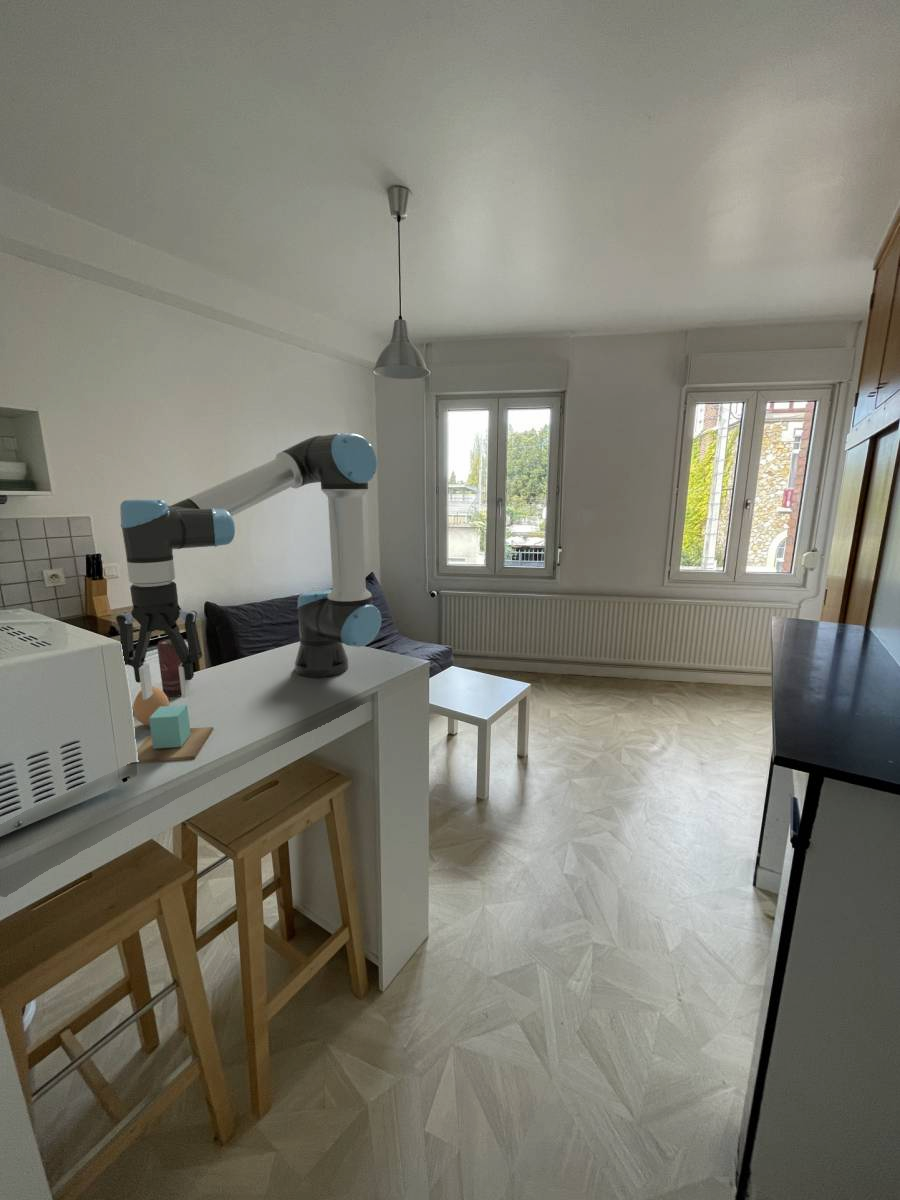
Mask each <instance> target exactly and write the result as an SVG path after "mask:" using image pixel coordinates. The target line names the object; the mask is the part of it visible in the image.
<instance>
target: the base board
mask: <svg viewBox="0 0 900 1200" xmlns="http://www.w3.org/2000/svg"><path fill="white" fill-rule="evenodd" d="M214 729H215V728H214V726H208V727H192V728H191V727H190V736H189V737H188V738H187V740H186V741H185V743H184V744H183V745H182V747H171V748H155V749H153V743H152V735H151V733H150V734H149V735H148V736H147V738H146V739H145V740H144V741H143V742H142V744H140V746H139V747H137V749H136V750H137V752H138V760H139V763H140V764H141V763H153V762H165V761H166V762H167V761H180V760H181V761H183V760H184V761H185V760H195V759H196V758H197V756H198V755H199V753H200V751H201V750H202V749H203V747H204V745H205V743H206V742H207V740H208V739H209V737H210V736H211V734H212V732H213V731H214ZM139 763H138V764H139Z"/></svg>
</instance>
